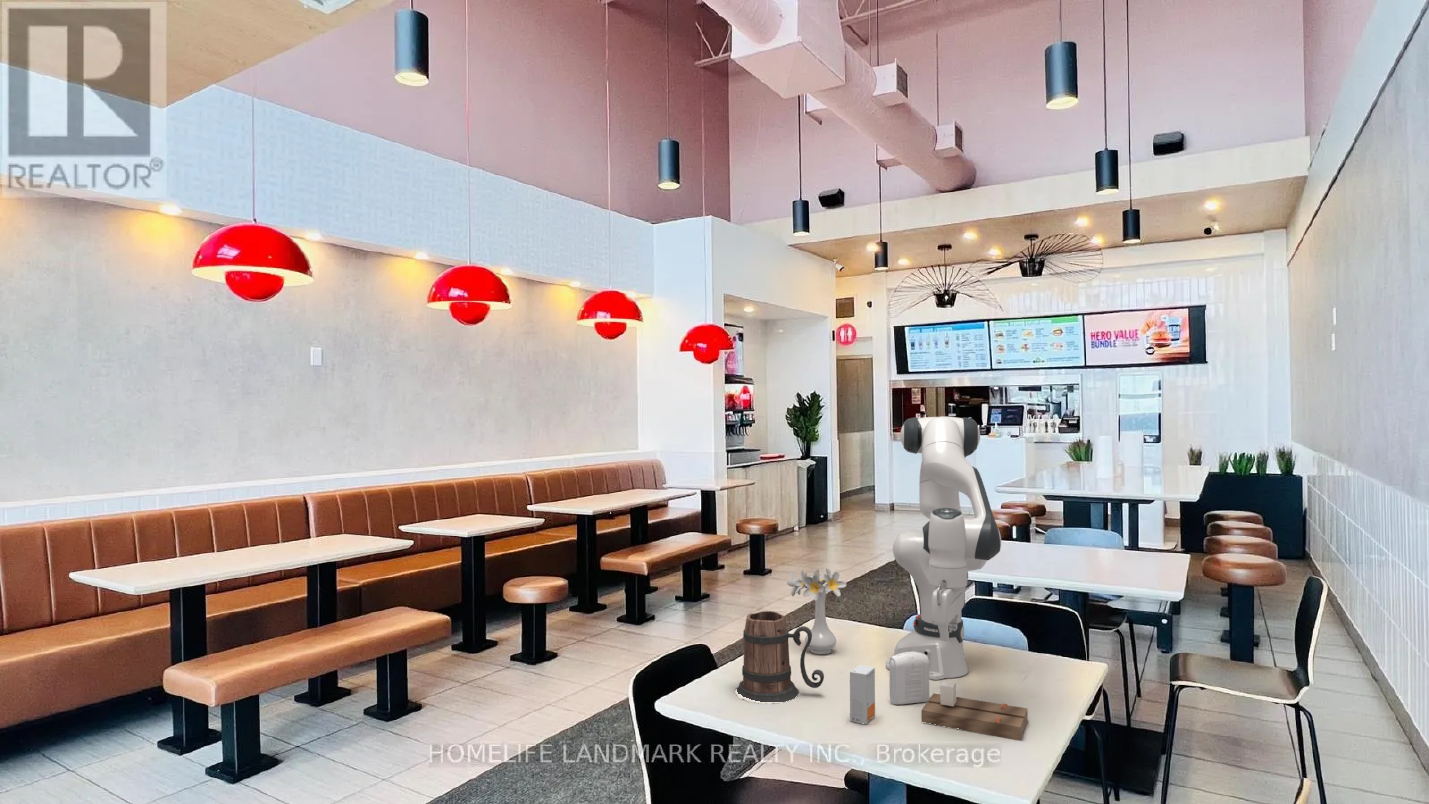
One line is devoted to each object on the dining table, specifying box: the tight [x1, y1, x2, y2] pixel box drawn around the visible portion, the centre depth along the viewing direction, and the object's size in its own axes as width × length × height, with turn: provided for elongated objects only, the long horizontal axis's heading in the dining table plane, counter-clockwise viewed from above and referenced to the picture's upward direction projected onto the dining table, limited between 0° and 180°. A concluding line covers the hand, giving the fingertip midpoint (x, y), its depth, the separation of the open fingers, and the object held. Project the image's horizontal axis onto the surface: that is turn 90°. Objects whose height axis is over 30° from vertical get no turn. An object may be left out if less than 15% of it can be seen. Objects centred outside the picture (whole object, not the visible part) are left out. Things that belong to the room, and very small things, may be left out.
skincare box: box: [849, 664, 876, 725], centre depth 190 cm, size 6×4×12 cm
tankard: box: [736, 610, 825, 703], centre depth 208 cm, size 24×17×20 cm
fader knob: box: [939, 680, 957, 707], centre depth 190 cm, size 3×4×6 cm
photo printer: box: [888, 652, 930, 705], centre depth 201 cm, size 10×4×12 cm, turn 104°
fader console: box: [920, 693, 1029, 741], centre depth 188 cm, size 22×12×3 cm, turn 61°
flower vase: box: [786, 567, 847, 656], centre depth 241 cm, size 13×18×25 cm
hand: (948, 635), depth 190 cm, fingers open, 8 cm apart
